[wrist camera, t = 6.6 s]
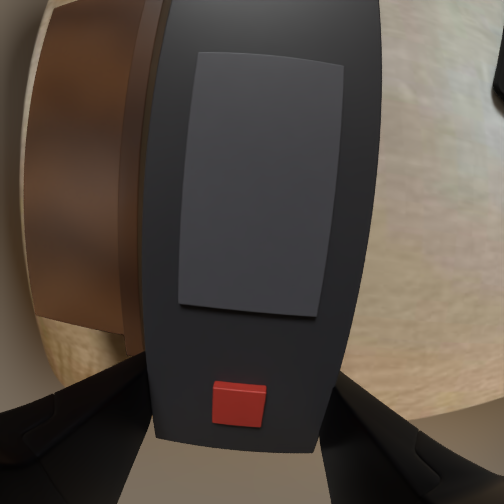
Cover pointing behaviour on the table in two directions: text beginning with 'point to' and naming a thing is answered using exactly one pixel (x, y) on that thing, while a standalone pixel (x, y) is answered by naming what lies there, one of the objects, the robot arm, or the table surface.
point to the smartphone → (500, 72)
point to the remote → (257, 215)
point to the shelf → (91, 163)
